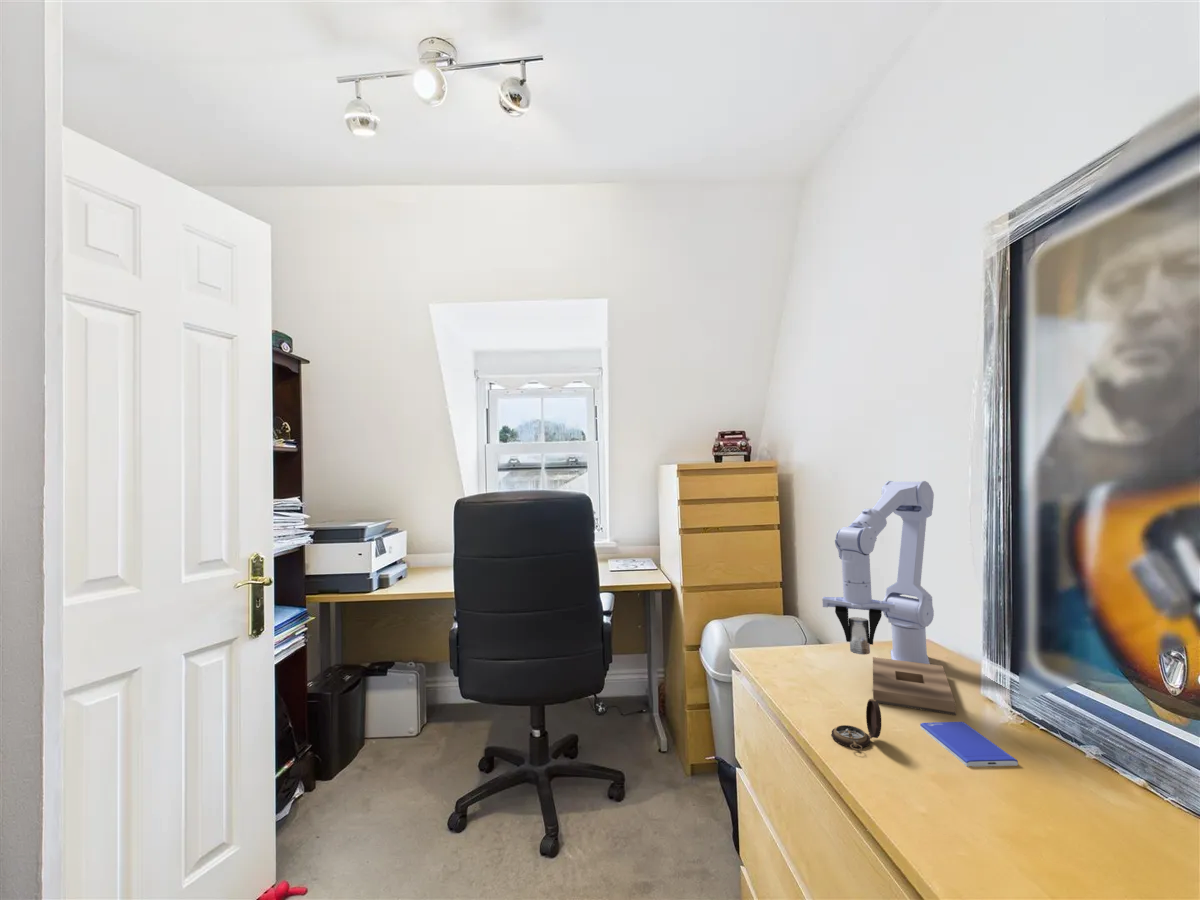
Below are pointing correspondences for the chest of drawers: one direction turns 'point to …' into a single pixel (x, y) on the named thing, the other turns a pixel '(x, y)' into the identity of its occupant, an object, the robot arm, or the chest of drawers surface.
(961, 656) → the chest of drawers surface
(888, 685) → the socket board
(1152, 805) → the chest of drawers surface
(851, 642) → the peg
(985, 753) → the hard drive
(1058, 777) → the chest of drawers surface
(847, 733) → the compass
